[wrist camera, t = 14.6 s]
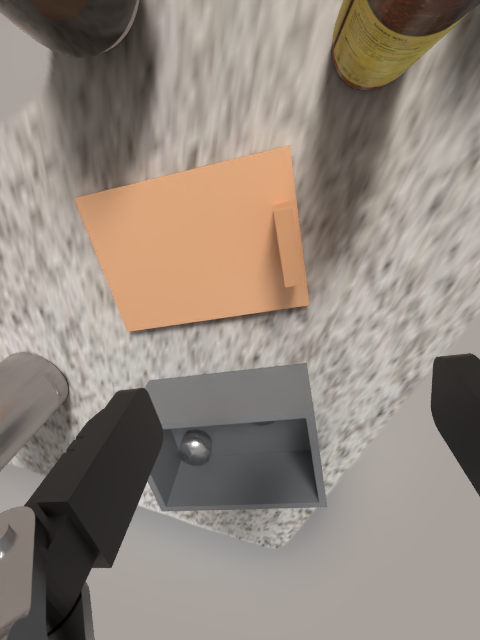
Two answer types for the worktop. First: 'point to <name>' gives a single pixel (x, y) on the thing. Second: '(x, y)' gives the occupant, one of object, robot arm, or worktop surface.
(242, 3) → the worktop surface
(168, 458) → the tub
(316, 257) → the worktop surface
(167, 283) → the lid
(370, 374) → the worktop surface
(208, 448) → the metal part
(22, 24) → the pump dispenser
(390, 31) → the sauce bottle
